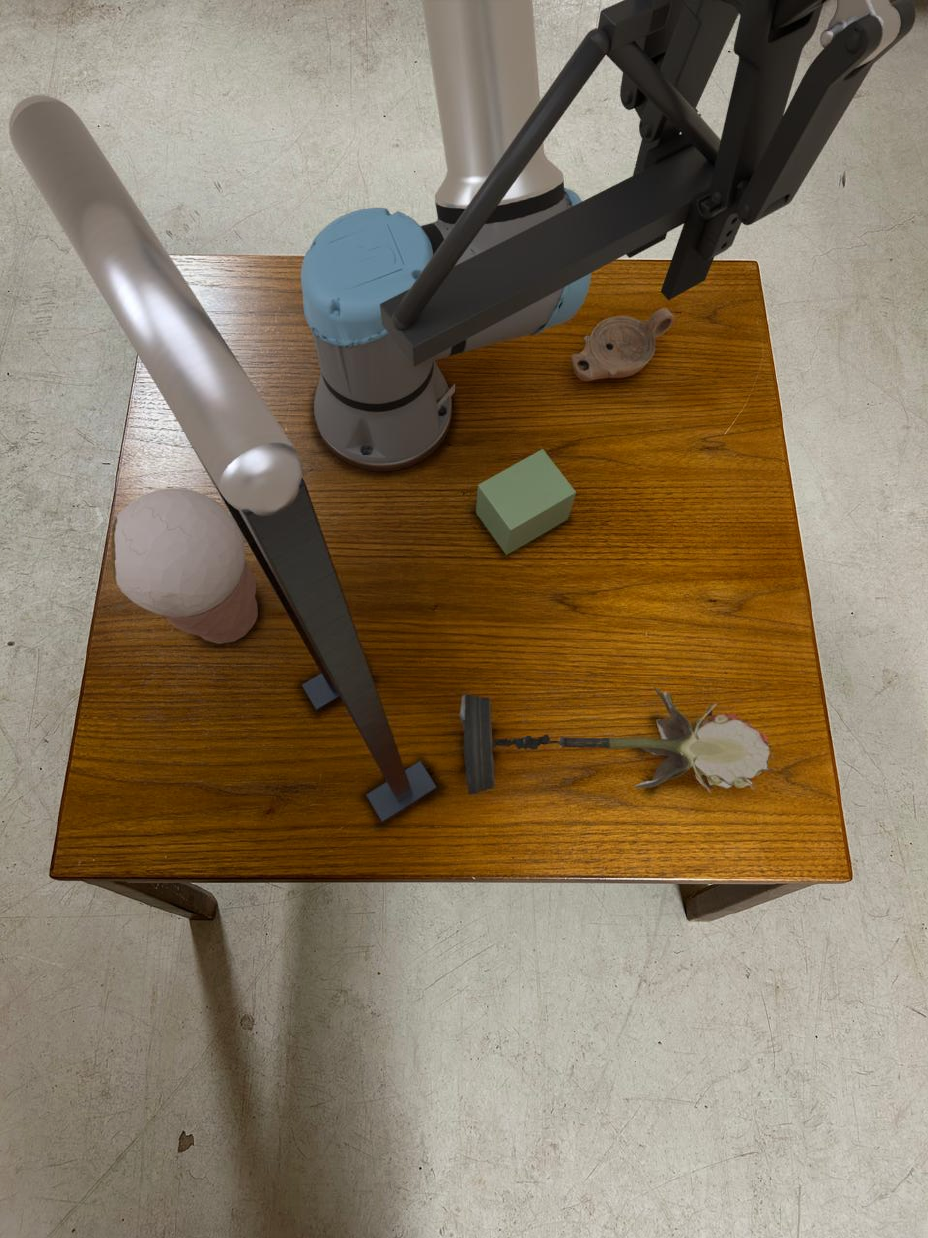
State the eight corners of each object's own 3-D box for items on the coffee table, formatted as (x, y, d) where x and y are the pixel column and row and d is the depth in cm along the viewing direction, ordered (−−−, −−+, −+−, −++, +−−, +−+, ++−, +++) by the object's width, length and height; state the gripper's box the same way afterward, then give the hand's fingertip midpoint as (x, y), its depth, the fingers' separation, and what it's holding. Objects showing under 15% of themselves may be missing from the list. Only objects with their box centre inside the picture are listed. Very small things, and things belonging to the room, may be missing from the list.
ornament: (742, 695, 77) (777, 671, 69) (756, 796, 74) (794, 783, 66) (460, 697, 77) (462, 673, 69) (462, 799, 74) (463, 787, 65)
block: (475, 512, 84) (477, 484, 78) (536, 477, 85) (542, 448, 80) (506, 555, 82) (510, 530, 77) (567, 519, 84) (576, 492, 78)
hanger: (411, 368, 37) (371, -206, 18) (379, 325, 38) (306, -268, 19) (735, 196, 41) (987, -423, 22) (699, 160, 42) (912, -466, 23)
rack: (303, 687, 77) (-98, 110, 20) (356, 656, 78) (114, 30, 22) (382, 823, 73) (153, 568, 16) (437, 788, 74) (400, 437, 17)
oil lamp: (586, 404, 89) (593, 377, 84) (553, 356, 91) (559, 327, 86) (682, 362, 91) (694, 332, 86) (648, 315, 93) (658, 284, 88)
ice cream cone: (158, 585, 80) (70, 489, 62) (260, 550, 82) (204, 446, 63) (186, 678, 77) (101, 608, 58) (291, 640, 79) (242, 560, 60)
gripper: (604, -411, 25) (532, 203, 47) (968, -156, 21) (700, 390, 43) (778, -465, 27) (629, 154, 49) (1153, -239, 22) (802, 330, 44)
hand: (663, 264), depth 46 cm, fingers closed on hanger, 3 cm apart
